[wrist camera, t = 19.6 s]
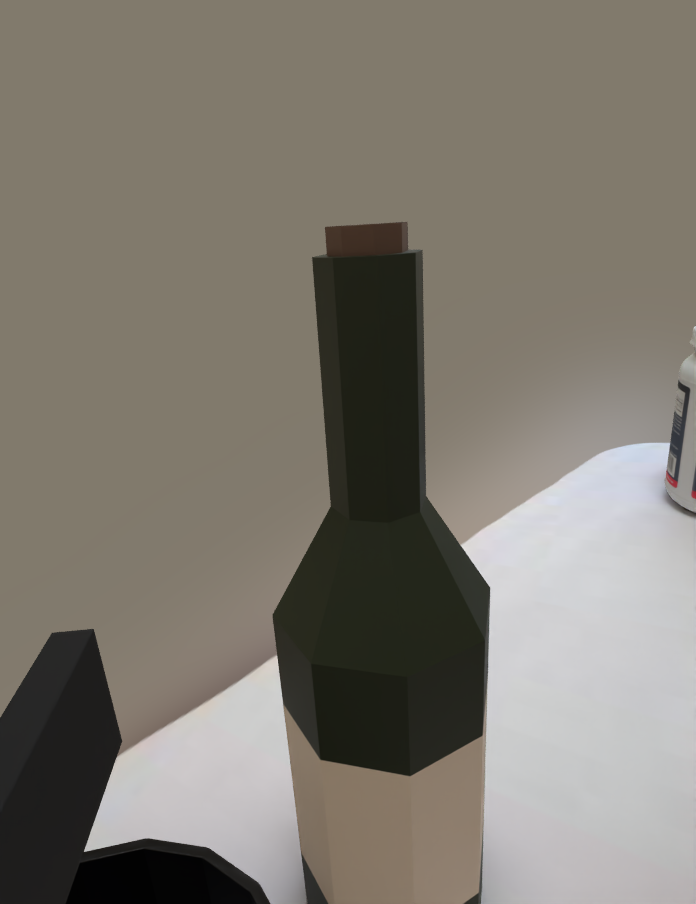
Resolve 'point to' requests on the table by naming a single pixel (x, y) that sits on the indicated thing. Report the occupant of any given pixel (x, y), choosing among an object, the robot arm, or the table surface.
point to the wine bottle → (382, 613)
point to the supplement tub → (684, 437)
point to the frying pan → (161, 876)
